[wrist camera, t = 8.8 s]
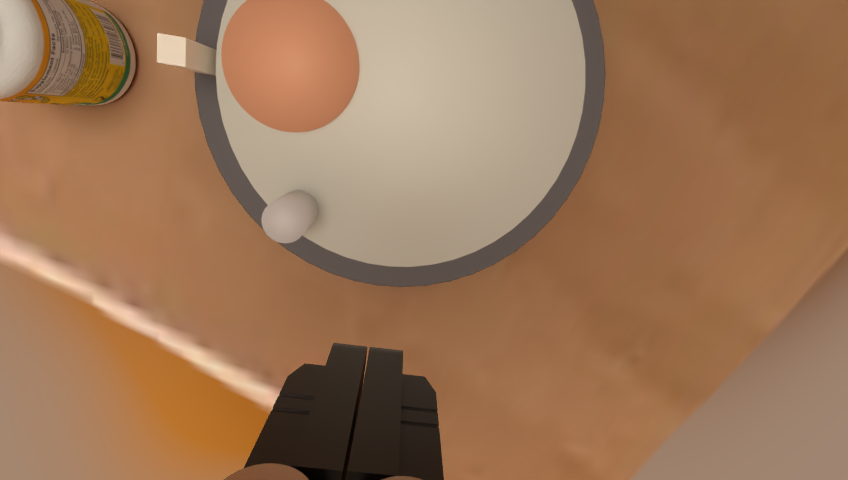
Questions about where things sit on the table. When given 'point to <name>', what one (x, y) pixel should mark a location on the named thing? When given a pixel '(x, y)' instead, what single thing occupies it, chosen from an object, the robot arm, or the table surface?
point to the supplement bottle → (63, 53)
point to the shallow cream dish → (400, 118)
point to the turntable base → (204, 65)
